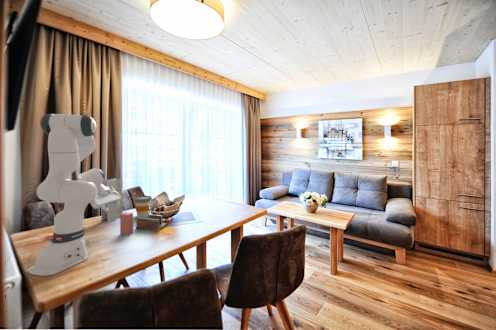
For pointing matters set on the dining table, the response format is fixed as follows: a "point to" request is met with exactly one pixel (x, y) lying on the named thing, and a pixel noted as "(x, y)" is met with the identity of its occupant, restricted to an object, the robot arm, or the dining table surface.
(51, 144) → the robot arm
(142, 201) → the reusable coffee cup
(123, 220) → the book
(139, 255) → the dining table surface
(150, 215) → the bookend
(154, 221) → the shelf
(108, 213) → the tall upright panel
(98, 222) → the dining table surface
